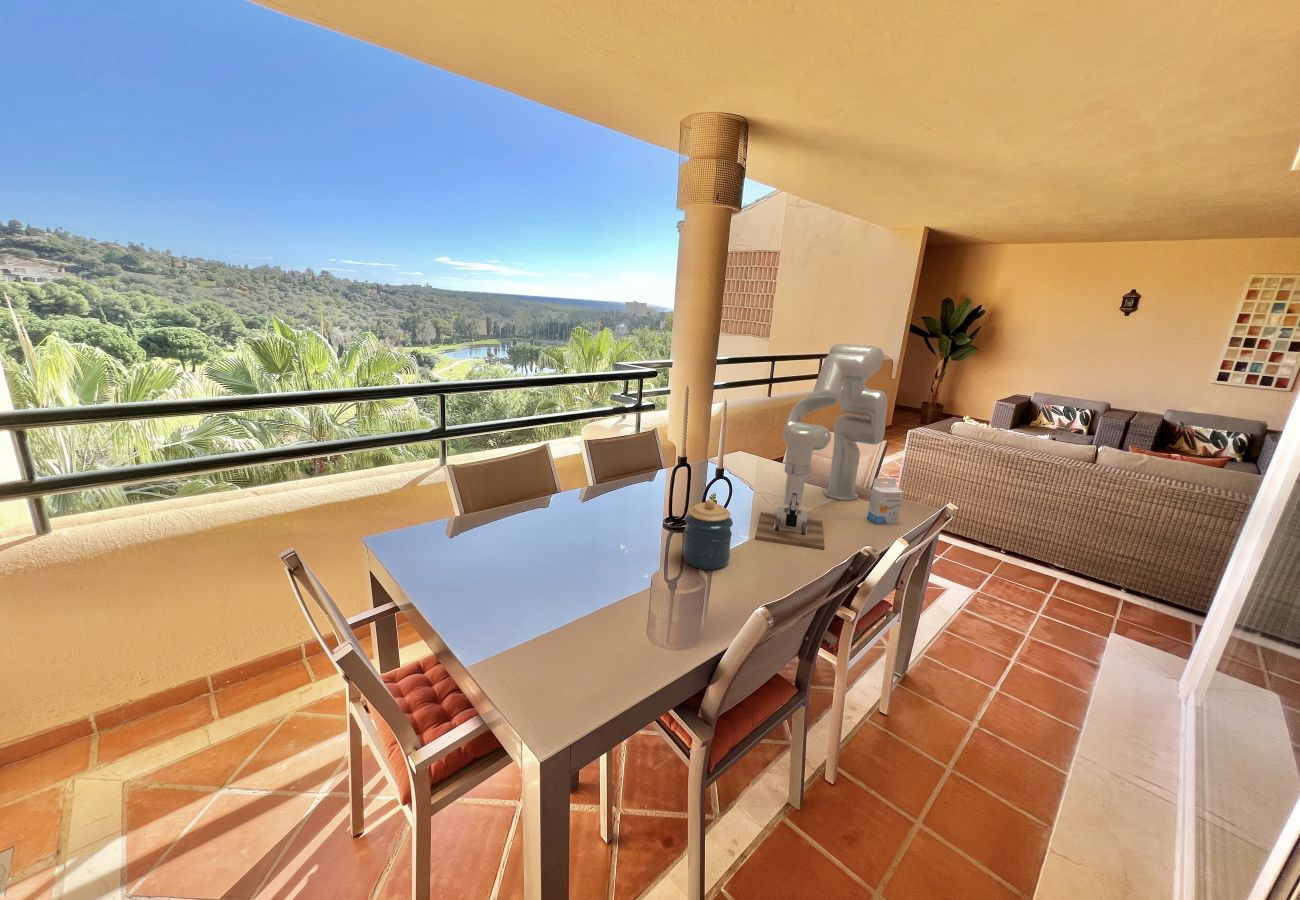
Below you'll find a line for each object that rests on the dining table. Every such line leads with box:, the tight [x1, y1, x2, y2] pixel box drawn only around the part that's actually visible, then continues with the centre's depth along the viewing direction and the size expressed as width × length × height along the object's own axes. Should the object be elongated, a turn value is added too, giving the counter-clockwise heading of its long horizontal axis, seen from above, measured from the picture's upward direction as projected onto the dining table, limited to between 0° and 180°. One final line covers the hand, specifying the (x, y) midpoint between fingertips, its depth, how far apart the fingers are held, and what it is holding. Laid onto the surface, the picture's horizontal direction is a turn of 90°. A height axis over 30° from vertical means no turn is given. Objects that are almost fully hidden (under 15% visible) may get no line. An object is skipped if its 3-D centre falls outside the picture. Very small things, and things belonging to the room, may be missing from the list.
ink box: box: [867, 477, 904, 525], centre depth 168 cm, size 8×5×15 cm, turn 98°
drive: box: [776, 506, 808, 532], centre depth 158 cm, size 4×9×6 cm, turn 73°
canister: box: [682, 499, 734, 571], centre depth 137 cm, size 13×13×18 cm
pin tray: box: [755, 512, 826, 550], centre depth 159 cm, size 20×20×4 cm
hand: (791, 522), depth 159 cm, fingers open, 4 cm apart
